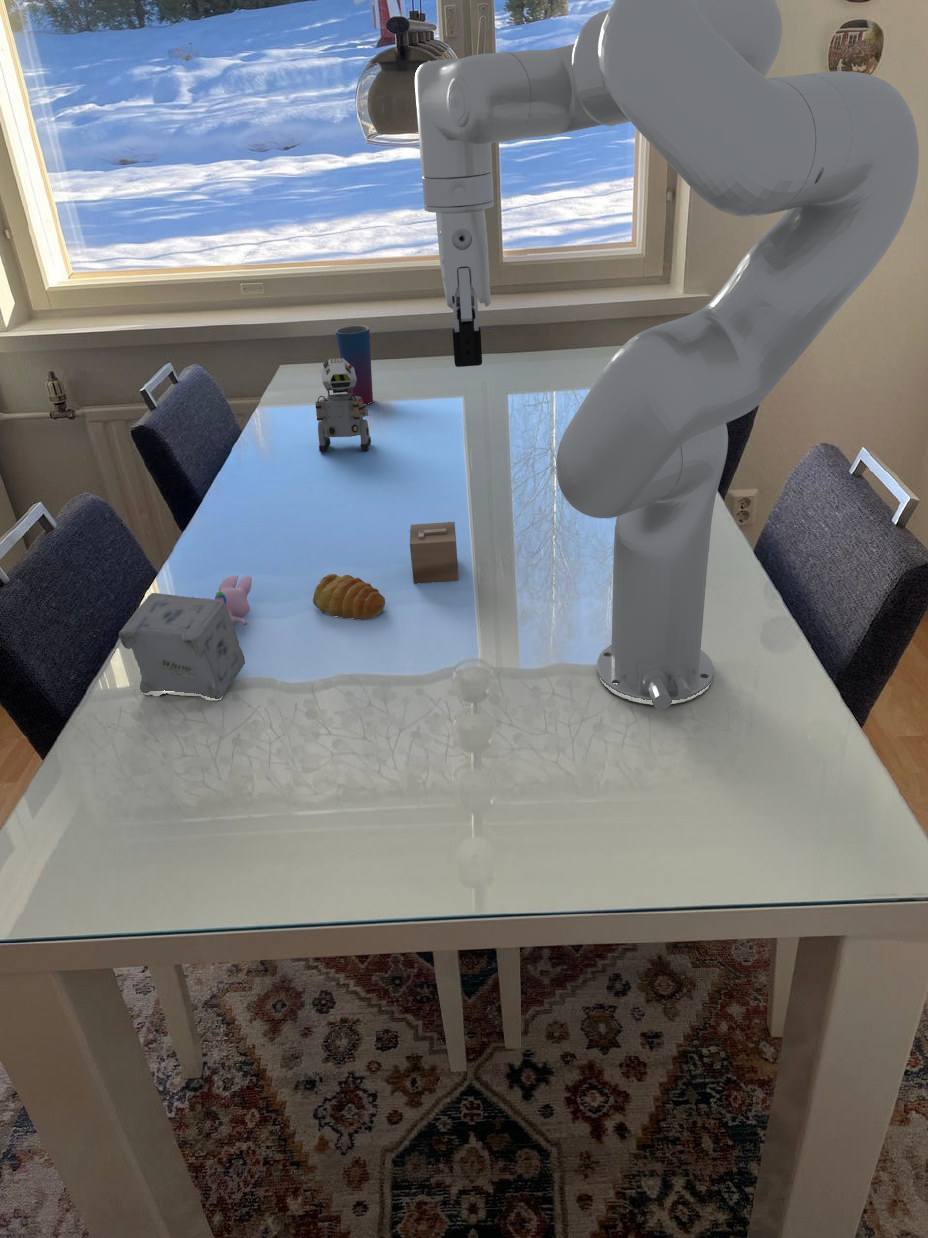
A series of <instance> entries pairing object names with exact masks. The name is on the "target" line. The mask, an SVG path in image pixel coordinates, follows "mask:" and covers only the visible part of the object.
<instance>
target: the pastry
mask: <svg viewBox="0 0 928 1238" xmlns="http://www.w3.org/2000/svg"><path fill="white" fill-rule="evenodd" d="M320 579H321V578H320ZM312 604H313V606H315V608H317V610H319V611H320V612H321V613H322V614H327V615H329V616H331V617H334V616H338V617H337V618H341V617H342V619H347V618H354V619H353V620H357V619H362V620H365V619H375V618H376V617H378V616H379V614H380V613H382V612H384V609H385V605H386V599H385V597H384V596H383V595H382V594H381V593H380V591H379V589H377V588H375V587H373V586H372V585H371V583H367V582H365V581H364V580H362V579H361V578H360V577H353V575H350V574H344V575H342V576H340V575H337V574H336V573H331V574H327V575H325V576H324V577H322V579H321V580H320V581H319V583H318V584H317V585H316V587H315V590H314V593H313V597H312Z"/></svg>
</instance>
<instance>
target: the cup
mask: <svg viewBox="0 0 928 1238" xmlns="http://www.w3.org/2000/svg"><path fill="white" fill-rule="evenodd" d="M370 334H371V333H370V327H369V326H367V325H362V324H361V325H360V324H359V325H357V324H355V325H348V326H347V325H344V326H342V327H339V328H337V329H335V337H336V342H337V348H338V353H339V354H338V355H339V358H343V359H344V360H346V361H347V362H348V363H349V364H350V365H351V366H352V367H354V370H355V371H356V372H357V375H356V378H357V381H356V385H355V387H354V389H353V394H354V396H358V397H362V400H363V401H362V404H368V403H370V402H372V401H373V402H374V395H373V393H374V392H373V377H372V376H373V375H372V358H371V357H372V355H371V340H370V339H371V337H370ZM346 394H351V389H348V392H346ZM373 402H372V403H373Z"/></svg>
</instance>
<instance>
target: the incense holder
mask: <svg viewBox="0 0 928 1238" xmlns="http://www.w3.org/2000/svg"><path fill="white" fill-rule="evenodd" d="M233 624H234V623H233ZM233 624H232V621H231V618H230V616H229V613H228V609H227V606H226V604H225V603H224V602H223V601H221V600H215V598H204V597H203V598H201V597H192V596H191V597H190V596H180V595H176V594H175V595H174V594H169V593H168V594H167V593H159V592H158V593H157V592H152V593H150V594H149V595H148V596H147V597H146V599H145V600H144V601H143V602H142V603H141V604H140V605H139V607H138V608H137V609H136V610H135V611H134V613H133V614H132V616H131V617H130V618H129V619H128V620H127V622H126V623H125V624H124V625H123V627H122V629H121V630H119V632H118V637H119V640H120V642H121V645H122V646H123V647H124V648H125V649H127V650H130V649H131V650H132V653H133V655H134V659H135V661H136V663H137V667H138V668H139V674H140V675H141V679H140V682H139V690H140V692H141V693H142V692H143V693H148V692H150V691H164V690H165V691H175V692H184V693H194V694H195V693H196V694H201V695H203V696H207V697H210V698H215V699H220V698H221V697H222V696H223V695H224V694H225V695H226V692H227V691H228V689H229V688H230V686H231V685H232V683H233V682H234V680H235V679H236V677H237V676H238V674H239V673H240V672H241V670H242V669H243V667H244V665H245V664H246V660H245V656H244V652H243V650H242V648H241V646H240V641H239V639H238V636H237V633H236V631H235V629H234V626H233ZM225 695H224V696H225ZM224 696H223V697H224ZM223 697H222V698H223Z"/></svg>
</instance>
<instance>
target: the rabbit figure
mask: <svg viewBox="0 0 928 1238" xmlns="http://www.w3.org/2000/svg"><path fill="white" fill-rule="evenodd" d="M238 578H239V575H231V576H227V577H225V578H224V579H223V580H222V581H221V582H220V584H219V586H218V591H217V592H216V593H215V597H214V600H221V601H223V602H224V603H225V604H226V606H227V609H228V613H229V616H230V618H231V621H232V624H234V623H240V624H242V626H246V625H247V624H248V622H247V621H246V620H245V619H243V618H244V617H245V616H246V615H248V613H249V612H250V608H251V607H250V604H249V602H248V600H247V599H248V595H249V594H250V592H251V589H252V580H253V579H252V576H251V575H245V576H243V577H241V579H240V580H239V579H238ZM238 580H239V582H238Z"/></svg>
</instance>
